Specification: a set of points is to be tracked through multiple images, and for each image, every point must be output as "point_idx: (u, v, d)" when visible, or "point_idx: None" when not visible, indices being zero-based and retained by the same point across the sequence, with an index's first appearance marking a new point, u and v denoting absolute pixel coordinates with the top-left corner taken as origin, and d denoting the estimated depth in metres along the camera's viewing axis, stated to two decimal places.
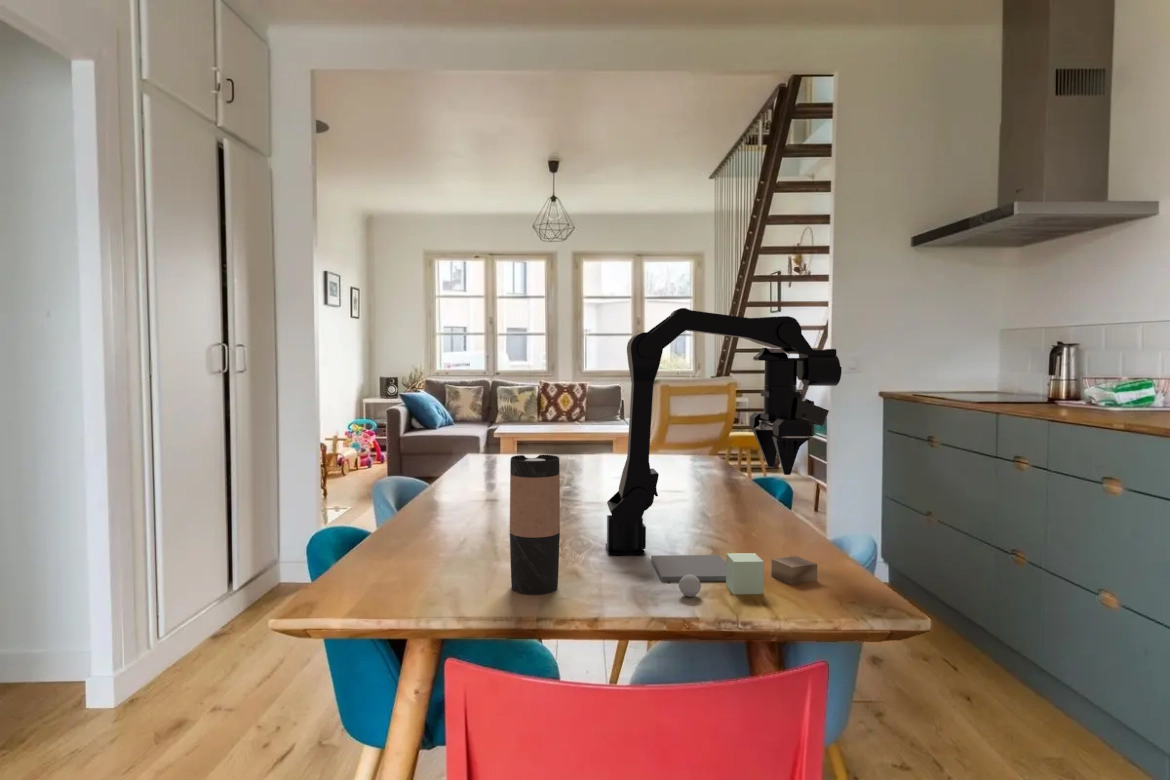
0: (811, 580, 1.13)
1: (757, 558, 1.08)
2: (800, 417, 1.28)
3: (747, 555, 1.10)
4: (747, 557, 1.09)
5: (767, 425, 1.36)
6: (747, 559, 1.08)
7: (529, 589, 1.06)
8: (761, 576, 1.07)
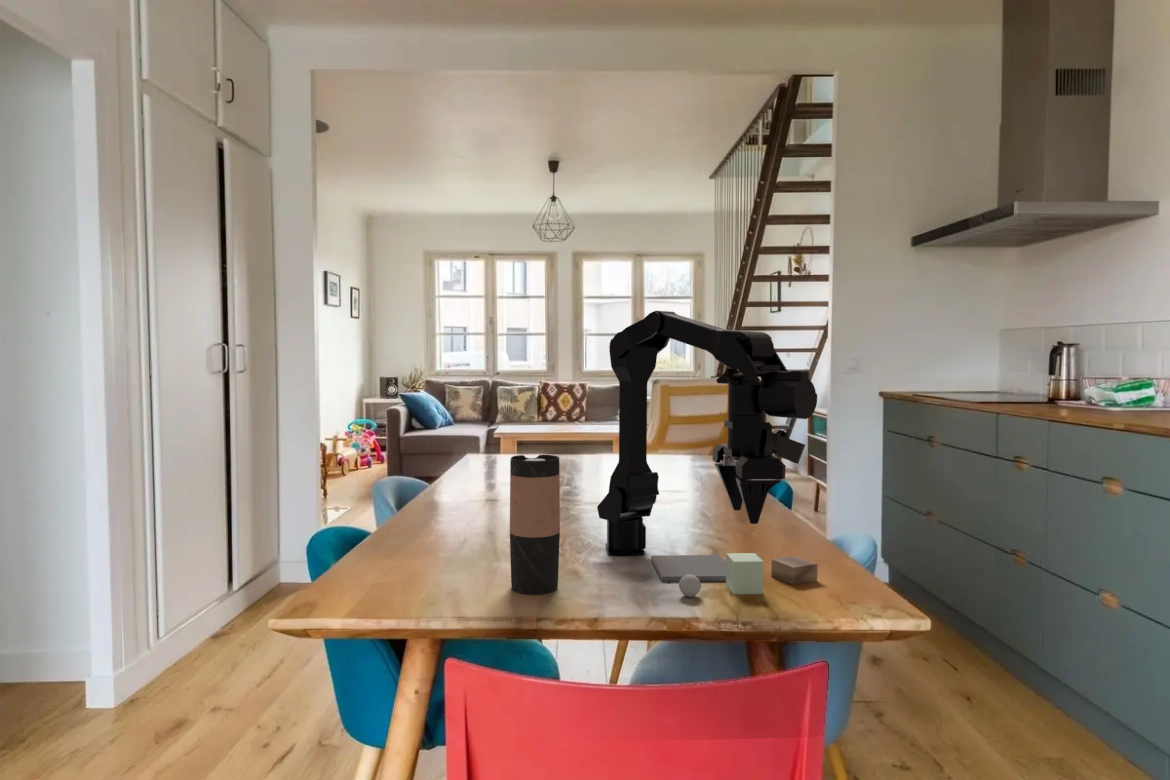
0: (811, 580, 1.13)
1: (757, 558, 1.08)
2: (770, 453, 1.06)
3: (747, 555, 1.10)
4: (747, 557, 1.09)
5: (733, 460, 1.14)
6: (747, 559, 1.08)
7: (529, 589, 1.06)
8: (761, 576, 1.07)
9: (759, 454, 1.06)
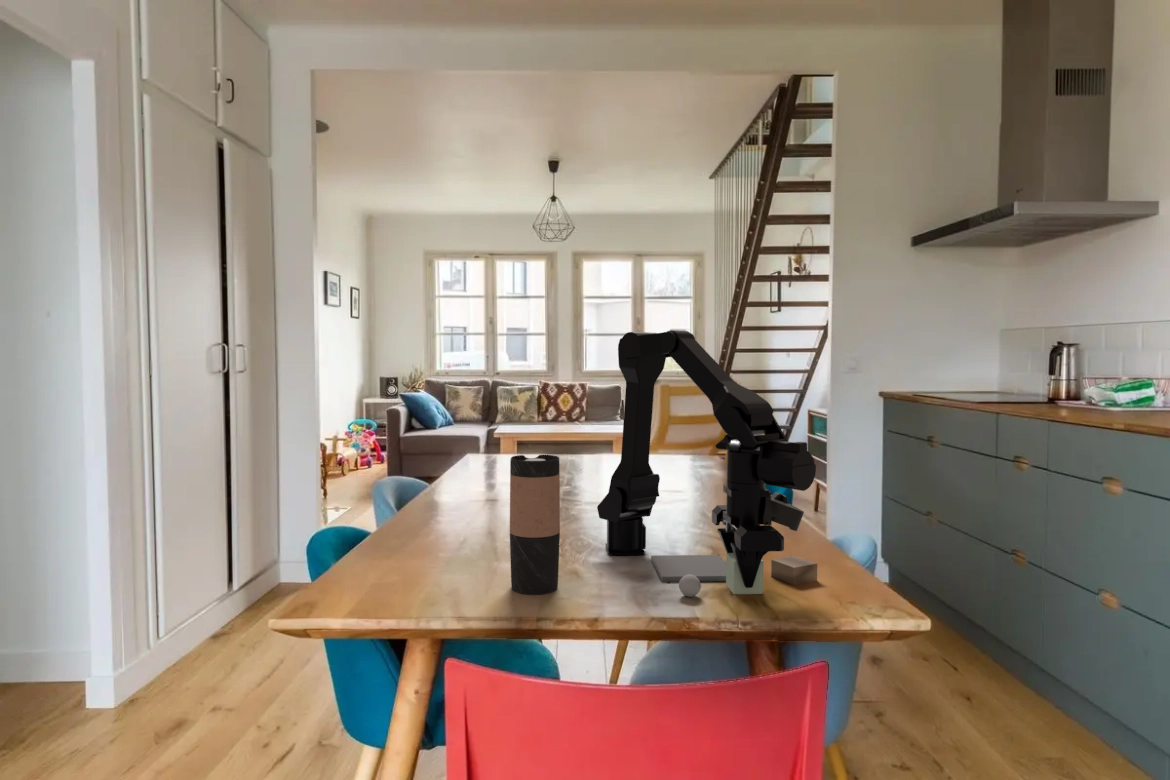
0: (811, 580, 1.13)
1: None
2: (769, 521, 1.06)
3: None
4: None
5: None
6: None
7: (529, 589, 1.06)
8: (761, 575, 1.07)
9: (758, 522, 1.06)
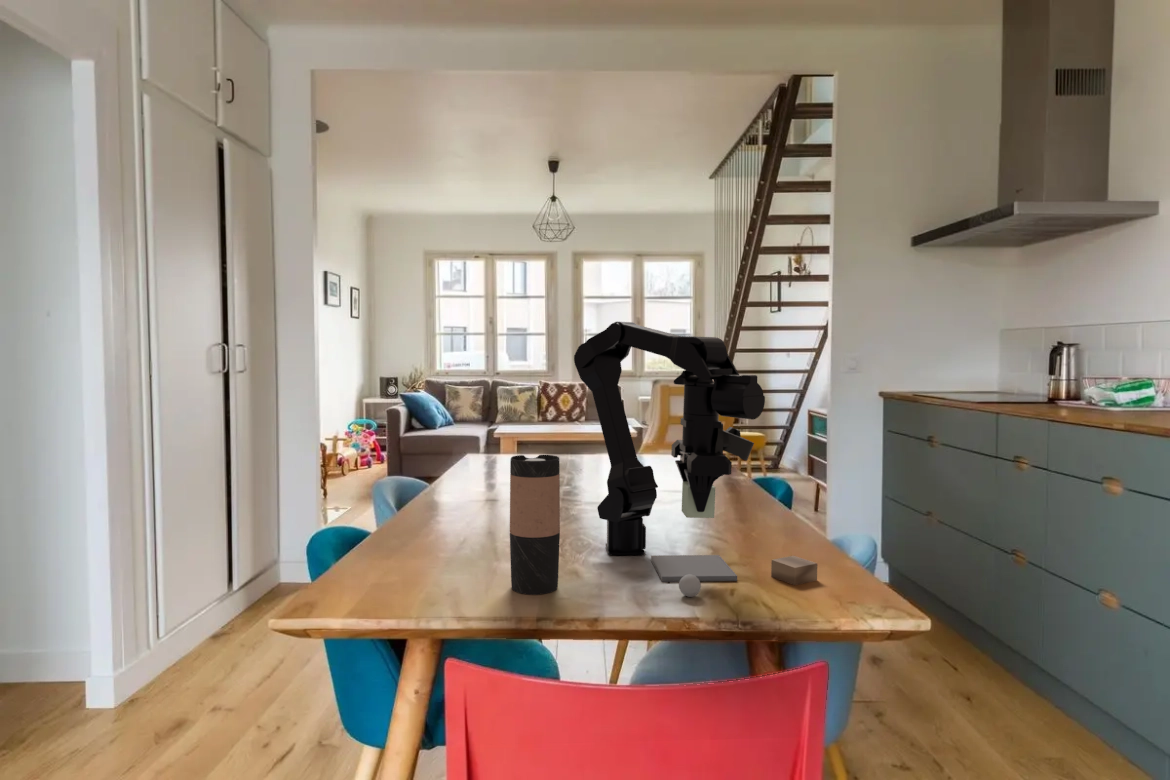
0: (812, 580, 1.13)
1: None
2: (720, 450, 1.14)
3: None
4: None
5: None
6: None
7: (529, 589, 1.06)
8: (713, 501, 1.15)
9: (710, 451, 1.14)
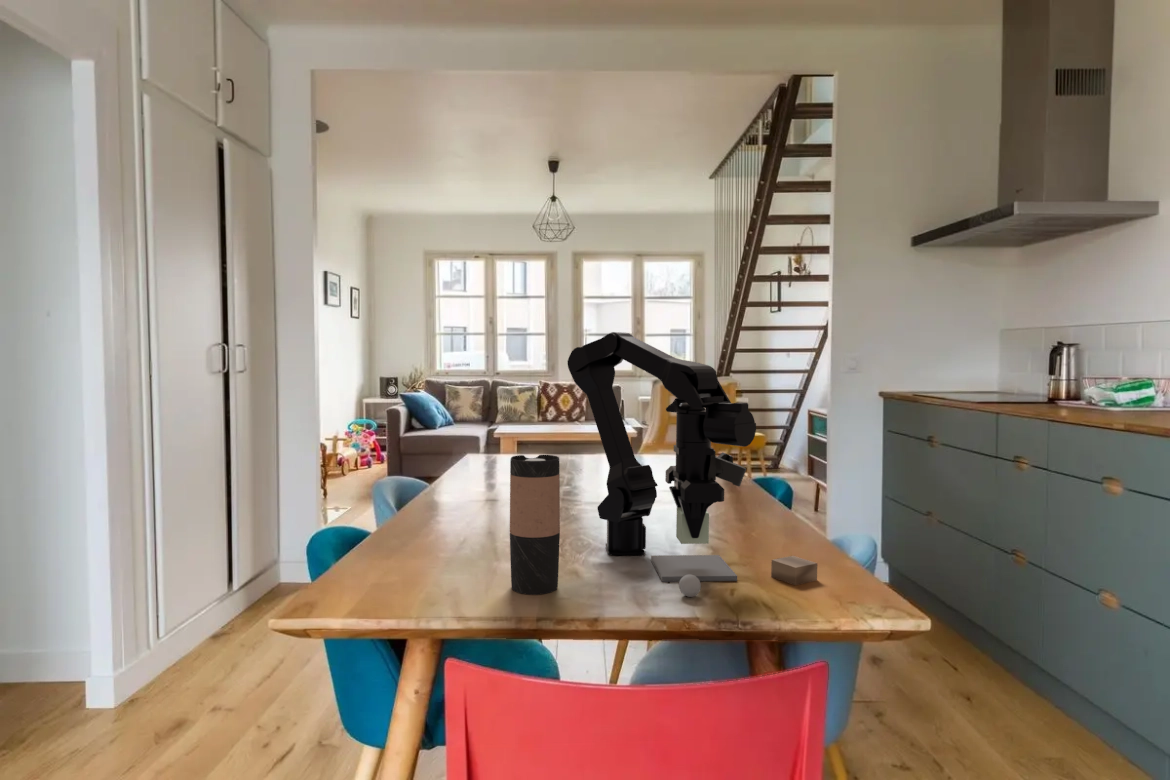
0: (812, 579, 1.13)
1: None
2: (713, 477, 1.15)
3: None
4: None
5: None
6: None
7: (529, 589, 1.06)
8: (707, 527, 1.16)
9: (703, 477, 1.16)
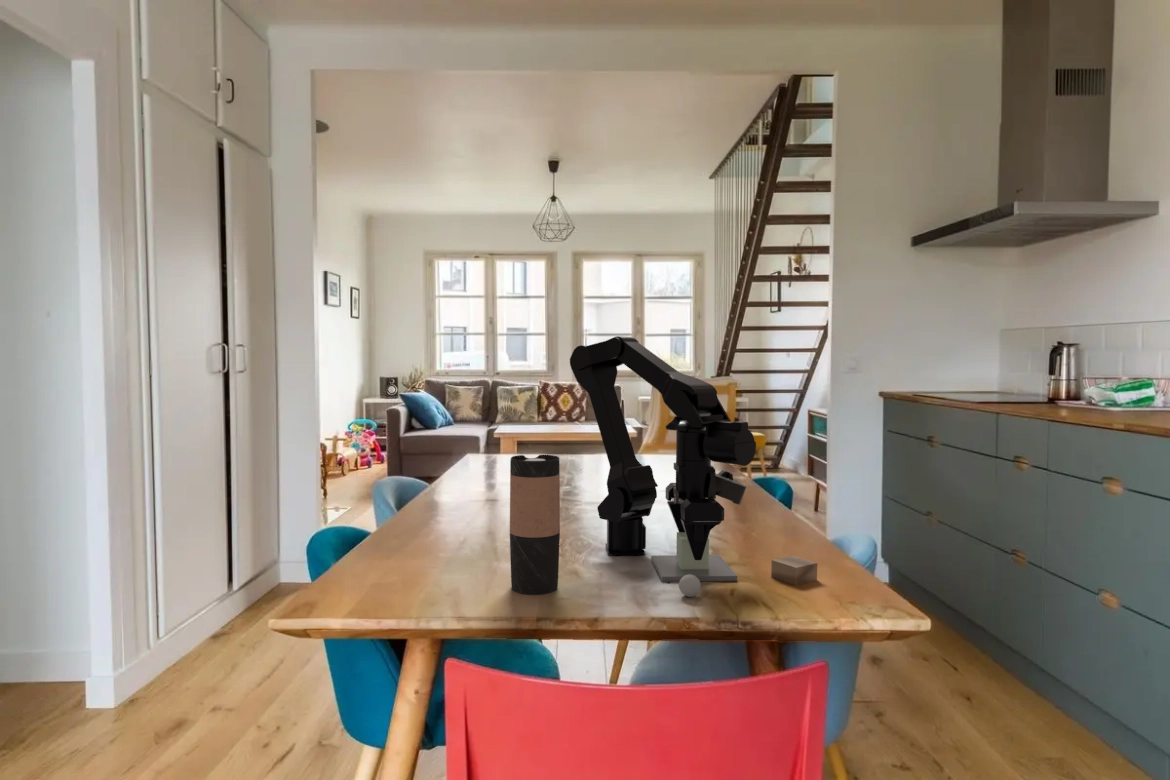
0: (812, 579, 1.13)
1: None
2: (713, 495, 1.16)
3: None
4: None
5: None
6: None
7: (529, 589, 1.06)
8: (707, 552, 1.17)
9: (703, 496, 1.16)
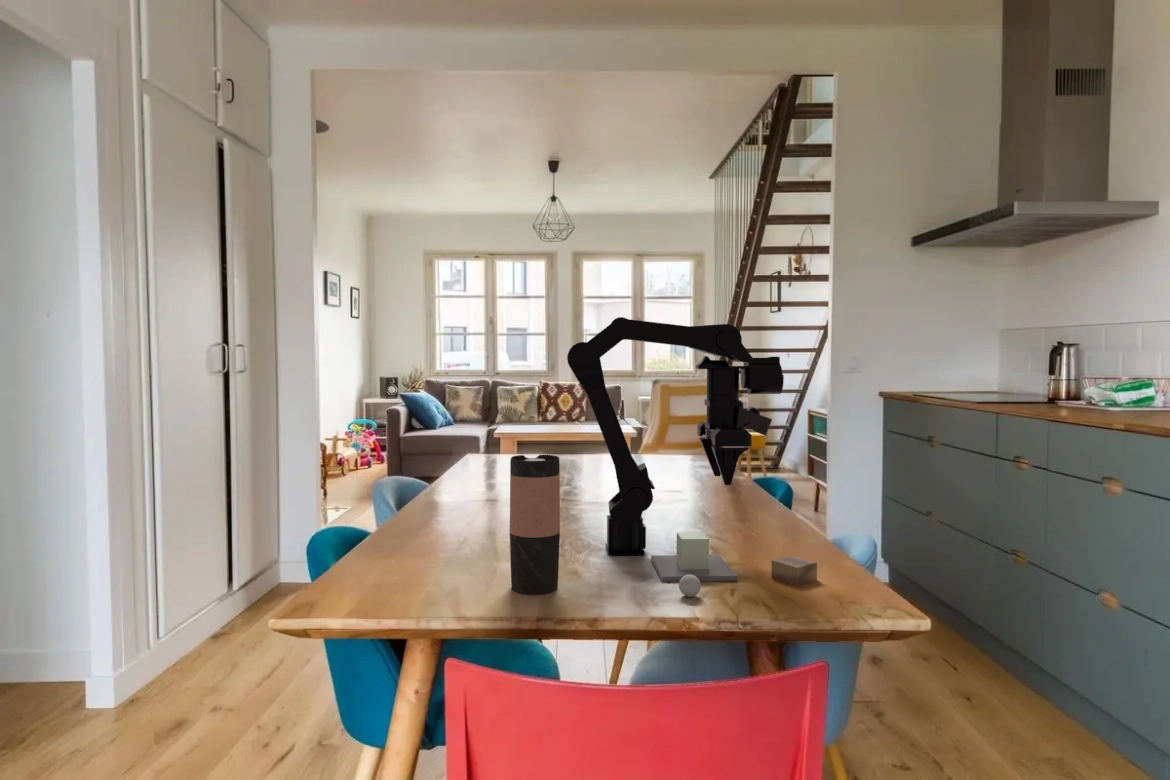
0: (812, 579, 1.13)
1: (704, 536, 1.18)
2: (741, 426, 1.26)
3: (695, 533, 1.20)
4: (695, 535, 1.19)
5: None
6: (694, 537, 1.17)
7: (529, 589, 1.06)
8: (707, 552, 1.17)
9: (732, 427, 1.26)
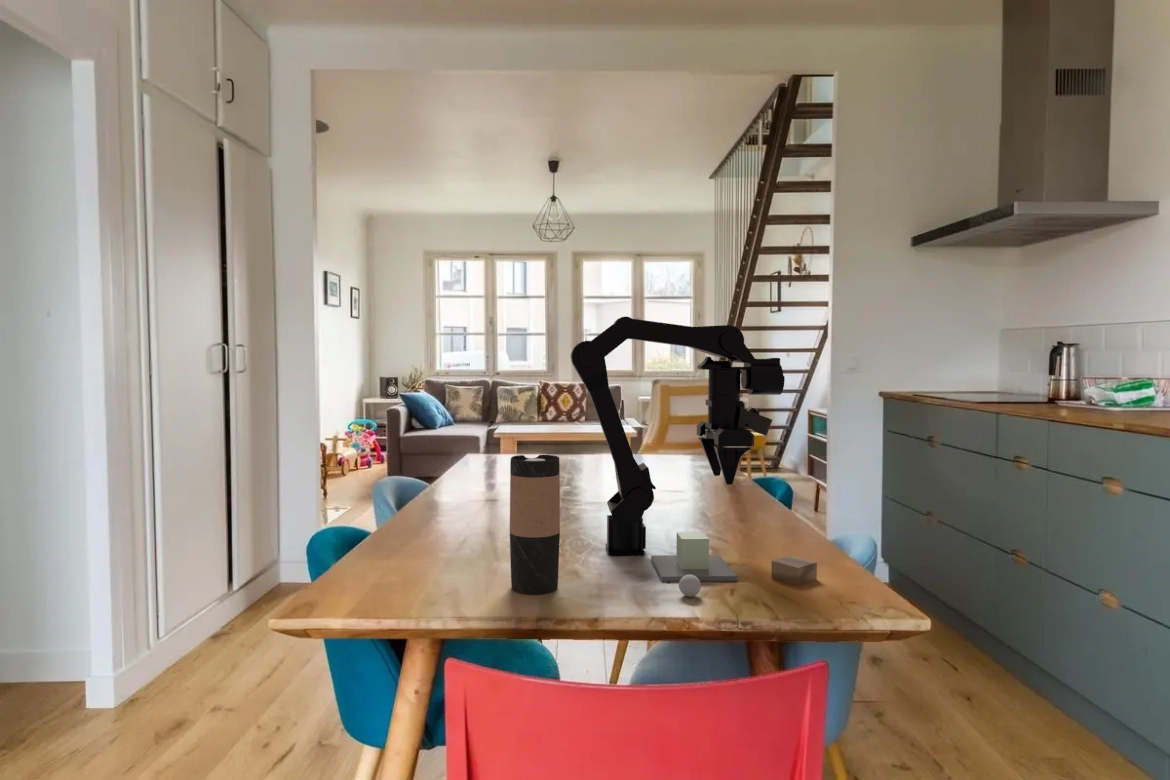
0: (812, 579, 1.14)
1: (704, 536, 1.18)
2: (743, 426, 1.27)
3: (695, 533, 1.20)
4: (695, 535, 1.19)
5: (713, 434, 1.36)
6: (694, 537, 1.17)
7: (529, 589, 1.06)
8: (707, 552, 1.17)
9: (734, 427, 1.28)
